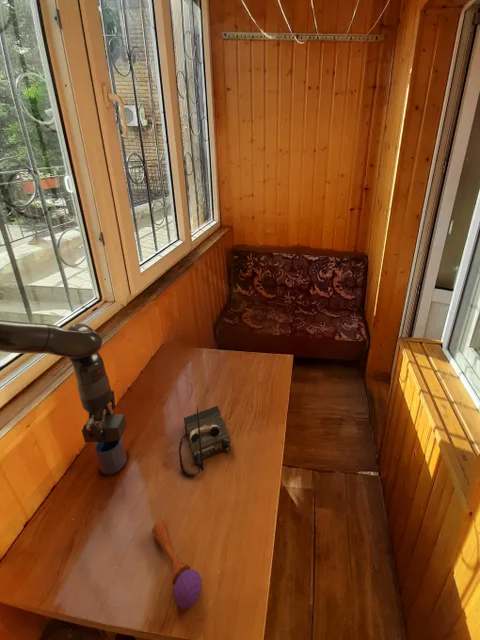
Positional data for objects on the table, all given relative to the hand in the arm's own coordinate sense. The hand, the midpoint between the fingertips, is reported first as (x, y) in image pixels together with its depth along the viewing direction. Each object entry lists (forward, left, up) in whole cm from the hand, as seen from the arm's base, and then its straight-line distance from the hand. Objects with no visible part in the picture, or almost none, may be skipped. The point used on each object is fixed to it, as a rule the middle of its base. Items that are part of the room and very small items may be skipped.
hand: (105, 432), depth 94 cm
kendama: (+26, -28, -13) cm, 40 cm away
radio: (+28, +2, -13) cm, 31 cm away
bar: (0, 0, -1) cm, 1 cm away
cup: (0, 0, -13) cm, 13 cm away
